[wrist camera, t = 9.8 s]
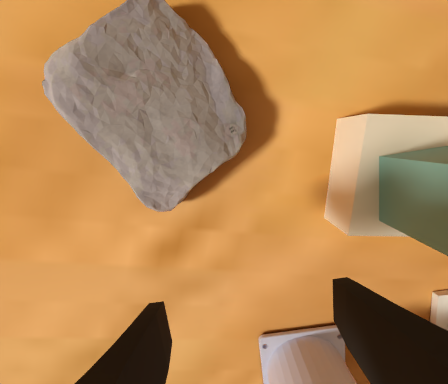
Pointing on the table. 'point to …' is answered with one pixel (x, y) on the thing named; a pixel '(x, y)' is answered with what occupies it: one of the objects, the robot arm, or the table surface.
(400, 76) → the table surface
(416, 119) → the cream base block
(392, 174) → the teal block
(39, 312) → the table surface
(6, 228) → the table surface
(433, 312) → the placard
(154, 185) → the stone block
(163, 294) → the table surface
